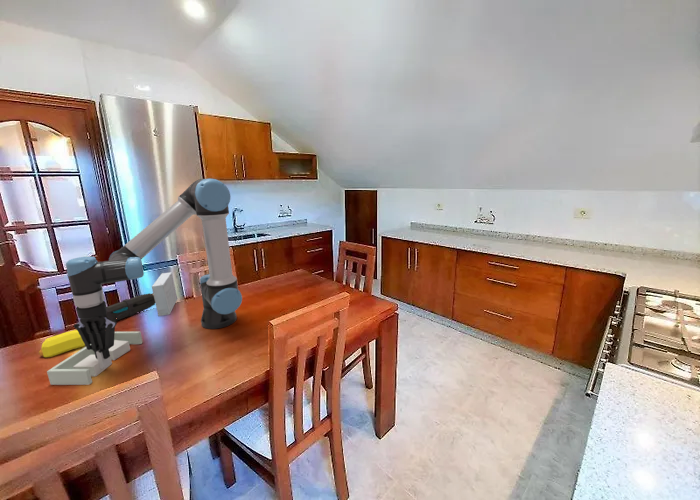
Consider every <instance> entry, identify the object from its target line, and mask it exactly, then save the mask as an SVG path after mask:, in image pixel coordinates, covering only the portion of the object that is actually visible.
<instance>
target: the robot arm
mask: <svg viewBox="0 0 700 500" xmlns="http://www.w3.org/2000/svg"><path fill="white" fill-rule="evenodd" d="M230 202H231V192H230V189H229V187H228V186H227V185H226V184H225V183H223V182H222V181H221V180H218V179H215V178H210V177H209V178H200V179H196V180H195V181H194V182H192V183H191V184H190V185H189V186H188V187H187V188H186V189H185V190H184V191H183V192H182V193H181V194H180V195H178V196H177V201H176V202H174V203H173V204H172V205H171V206H170V207H169V208H167V209H166V210H165V211H164V212H162V213H161V214H160V215H158V217H156V218H155V219H154V220H153V221H152V222H151V223H149V224H148V225H147V226H146V227H145V228H143V229H142V230H141V231H139V233H137V234H136V235H135V236H134V237H132V238H131V239H130V240H128V242H126V244H124V245H123V246H122V247H121V248H119V249H118V250H115V251H113V252H112V253H111V254H110V255H109V258H108V260H104V261H98V260H97V258H96V257H95V256H79V257H75V258H71V259H69V260H67V262H65V266H66V267H65V268H66V273H67V278H68V281H69V282H68V283H69V286H70V290H71V293H72V294H71V295H72V299H73V301H74V306H75V311H76V315H77V317H78V319H79V322H76V323H75V324H73V328H74V330H77V331H78V332H79V334H80V336H81V338H82V340H83V342H84V344H85V346H84V347H86V348H87V349H88V350H90V349H91V350H93V351H94V352H95V357H96V359H98V363H99V367H100V369H105V368H106V367H107V366H108V365H110V360H109V357H110V353H109V348H111V347H112V346H114V335H115V332H116V331H115V330H116V326H117V324H118V322H117V321H113V322H112V321H110V320H109V318H108V316H107V315H106V312H107V307H108V306H107V302H106V301H105V300H106V298H105V295H104V289H103V285H105V284H112V283H117V282H118V283H119V282H125V281H130V280H131V281H134V280H135V279H139V278H143V277H144V274H145V273H144V267H143V262H142V261H143V258H145V257H146V256H147V255H148V254H149V253H150V252H152V250H154V249H155V248H156V247H157V246H159V244H161V243H162V242H163V241H164V240H165V239H167V238H168V237H169V236H170V235H171V234H172V233H174V232H175V231H176V230H177V229H178V228H179V227H180V226H182V225H183V224H184V223H185V222H186V221H187V220H188V219H190V218H191V217H192V216H195V215H196V217H198V218H200V219H201V225H202V231H203V238H204V246H205V252H206V260H207V266H208V272H209V273H208V274H207V273H206V274H204V275H202V276H200V278H199V286H200V293H201V298H202V299H201V300H202V305H203V309H202V315H201V319H200V324H201V327H202V328H203V329H208V330H209V329H210V330H216V329H222V328H225V327H228V326H230V325H232V324H234V323H235V322H236V321H237V319H238V318H237V317H238V316H237V313H236V311H237V310H238V309H239V307H240V306H241V304H242V302H243V295H242V293H241V291H240V290H239V284H238V278H237V276H235V275H234V274H233V268H232V261H231V253H230V251H231V250H230V245H229V235H228V227H227V219H226V218H227V217H228V216H229V214H230V210H229V204H230ZM90 344H91V345H90ZM110 366H111V365H110ZM107 368H108V367H107ZM107 368H106V369H107ZM106 369H105V370H106Z"/></svg>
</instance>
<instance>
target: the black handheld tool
mask: <svg viewBox="0 0 700 500" xmlns="http://www.w3.org/2000/svg"><path fill="white" fill-rule="evenodd" d="M153 306H156V303H155V299H154V294H153V292H152V293H144V294H140V295H137V296H135V297H131V298H125V299H122V300H121V301H120V302H116V303H114V304H110V305H108V306H107V312H106V315H107V316H108V318H109V320H110V321H112V322H113V321H116V322H117V321H120V320H122V319H124V318H125V319H126V318H127V317H129V318H130V317H132V316H134V315H135V314H138V313H140V312H143V311H145V310H148V309H150V308H152V307H153ZM116 318H117V319H116Z"/></svg>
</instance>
